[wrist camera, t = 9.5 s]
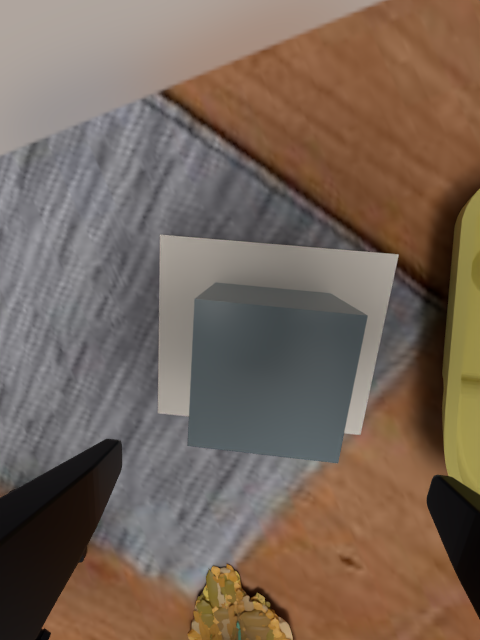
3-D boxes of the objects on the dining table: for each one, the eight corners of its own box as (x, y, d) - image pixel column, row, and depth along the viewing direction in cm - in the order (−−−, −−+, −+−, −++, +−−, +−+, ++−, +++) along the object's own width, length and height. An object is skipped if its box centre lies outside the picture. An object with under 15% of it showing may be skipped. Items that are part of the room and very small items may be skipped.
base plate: (164, 401, 21) (140, 441, 17) (167, 235, 18) (139, 231, 14) (353, 421, 21) (378, 467, 16) (387, 254, 18) (429, 255, 13)
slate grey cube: (208, 386, 19) (187, 445, 13) (215, 282, 17) (194, 298, 12) (313, 397, 19) (337, 463, 13) (330, 293, 17) (367, 315, 11)
